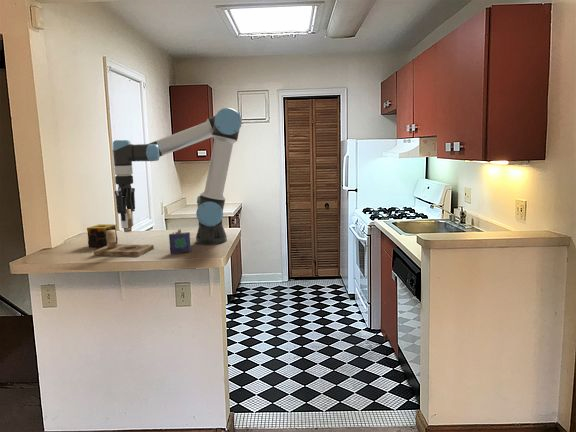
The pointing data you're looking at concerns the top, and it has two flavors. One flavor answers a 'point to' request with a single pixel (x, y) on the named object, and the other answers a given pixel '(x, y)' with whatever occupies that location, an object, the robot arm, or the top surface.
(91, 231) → the black and yellow cube
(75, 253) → the top surface
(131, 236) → the top surface
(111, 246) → the seat board
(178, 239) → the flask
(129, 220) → the oak leg
